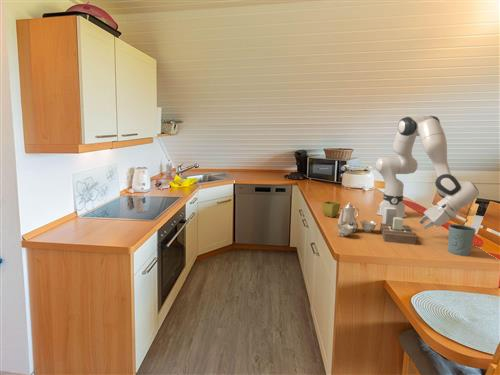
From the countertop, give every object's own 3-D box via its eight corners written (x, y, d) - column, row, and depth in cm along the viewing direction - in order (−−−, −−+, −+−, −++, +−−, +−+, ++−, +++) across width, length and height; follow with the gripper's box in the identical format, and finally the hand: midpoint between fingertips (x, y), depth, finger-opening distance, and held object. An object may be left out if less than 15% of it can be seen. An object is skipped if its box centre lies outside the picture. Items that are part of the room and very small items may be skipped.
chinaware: (345, 243, 158) (350, 212, 153) (321, 231, 171) (325, 202, 167) (379, 234, 173) (385, 206, 169) (354, 224, 186) (359, 197, 182)
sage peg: (391, 235, 167) (393, 217, 165) (399, 236, 166) (401, 217, 164) (392, 237, 163) (394, 218, 161) (401, 238, 162) (403, 219, 160)
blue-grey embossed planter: (448, 254, 141) (451, 228, 139) (443, 247, 150) (446, 223, 148) (475, 258, 137) (478, 231, 135) (468, 250, 146) (471, 225, 144)
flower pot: (332, 218, 198) (332, 204, 197) (320, 215, 205) (321, 202, 203) (339, 216, 204) (340, 203, 202) (328, 213, 210) (329, 200, 209)
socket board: (380, 230, 176) (380, 222, 175) (407, 232, 172) (408, 225, 171) (384, 241, 157) (385, 233, 156) (415, 244, 153) (416, 236, 152)
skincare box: (391, 227, 181) (393, 207, 179) (395, 229, 177) (397, 209, 175) (381, 227, 181) (383, 207, 179) (384, 229, 177) (386, 208, 175)
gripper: (435, 199, 166) (413, 215, 170) (447, 207, 146) (422, 225, 151) (444, 208, 165) (421, 224, 169) (457, 217, 146) (431, 235, 150)
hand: (422, 225), depth 160 cm, fingers open, 8 cm apart
